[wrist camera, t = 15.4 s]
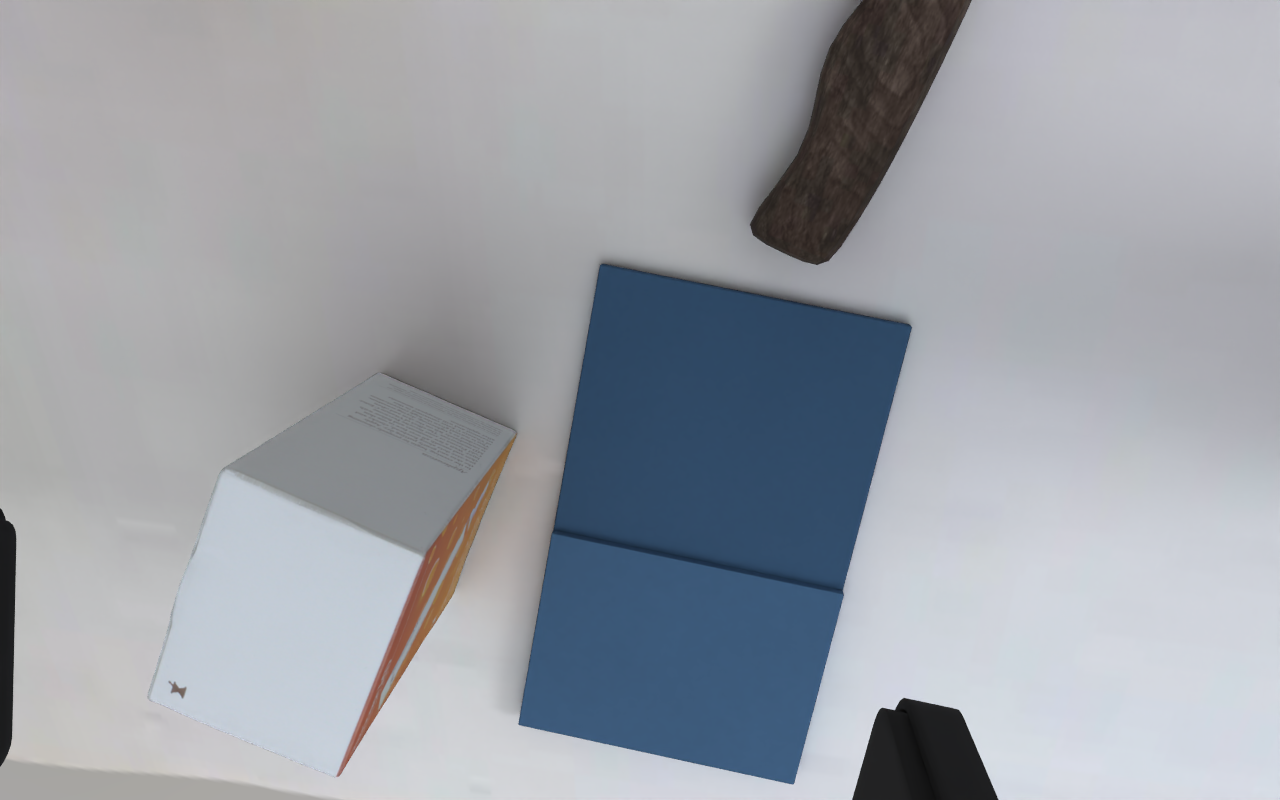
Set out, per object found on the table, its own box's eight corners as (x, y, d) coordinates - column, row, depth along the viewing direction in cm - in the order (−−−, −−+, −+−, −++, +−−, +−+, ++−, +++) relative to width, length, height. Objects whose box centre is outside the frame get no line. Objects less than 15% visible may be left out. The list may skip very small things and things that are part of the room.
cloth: (909, 324, 37) (914, 328, 36) (792, 772, 42) (793, 784, 41) (601, 263, 37) (598, 265, 36) (522, 713, 42) (518, 725, 41)
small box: (455, 595, 41) (336, 787, 29) (318, 536, 41) (137, 703, 28) (523, 428, 39) (427, 556, 26) (379, 366, 39) (213, 464, 26)
